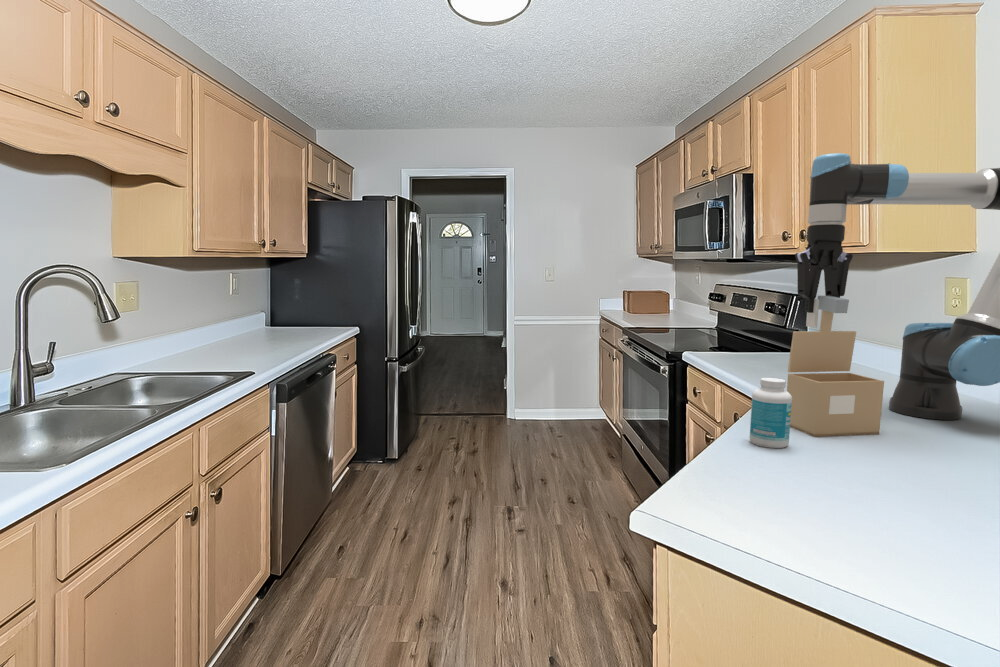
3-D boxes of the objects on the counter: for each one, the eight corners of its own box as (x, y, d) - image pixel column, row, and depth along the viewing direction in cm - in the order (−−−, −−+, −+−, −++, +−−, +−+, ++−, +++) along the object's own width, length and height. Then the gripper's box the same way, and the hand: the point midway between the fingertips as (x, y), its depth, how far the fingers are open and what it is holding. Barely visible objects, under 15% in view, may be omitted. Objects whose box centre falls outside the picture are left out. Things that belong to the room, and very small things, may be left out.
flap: (861, 375, 132) (842, 368, 138) (874, 299, 128) (854, 295, 134) (799, 376, 129) (782, 369, 135) (810, 299, 126) (792, 295, 131)
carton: (845, 422, 137) (849, 372, 136) (879, 434, 127) (884, 381, 126) (784, 424, 135) (788, 373, 133) (814, 437, 125) (819, 382, 123)
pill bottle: (793, 450, 115) (798, 384, 114) (753, 447, 117) (758, 382, 115) (782, 439, 123) (787, 377, 121) (745, 437, 124) (749, 375, 122)
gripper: (844, 226, 137) (836, 325, 140) (783, 224, 134) (777, 325, 137) (870, 224, 130) (861, 328, 132) (806, 222, 127) (798, 328, 129)
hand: (818, 326), depth 134 cm, fingers closed on flap, 3 cm apart
